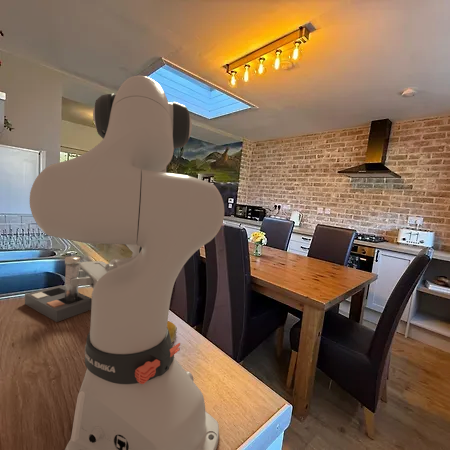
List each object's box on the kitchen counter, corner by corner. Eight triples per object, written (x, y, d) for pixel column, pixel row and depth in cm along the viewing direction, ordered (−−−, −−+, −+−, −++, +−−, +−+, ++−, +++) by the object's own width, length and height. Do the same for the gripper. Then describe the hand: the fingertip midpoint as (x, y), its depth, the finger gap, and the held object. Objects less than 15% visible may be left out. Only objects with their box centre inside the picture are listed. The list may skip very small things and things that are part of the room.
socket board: (92, 308, 75) (93, 298, 74) (56, 322, 66) (56, 309, 65) (61, 294, 82) (61, 284, 82) (24, 304, 73) (25, 293, 73)
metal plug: (81, 305, 74) (83, 258, 72) (68, 310, 70) (70, 260, 69) (73, 302, 75) (75, 255, 74) (60, 306, 72) (62, 257, 70)
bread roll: (143, 328, 68) (144, 314, 67) (177, 330, 68) (178, 316, 68) (134, 346, 59) (135, 330, 59) (173, 348, 60) (175, 332, 60)
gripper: (107, 255, 88) (60, 259, 78) (132, 272, 73) (78, 279, 64) (106, 273, 89) (59, 278, 79) (131, 293, 74) (77, 303, 64)
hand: (68, 279), depth 71 cm, fingers closed on metal plug, 3 cm apart
